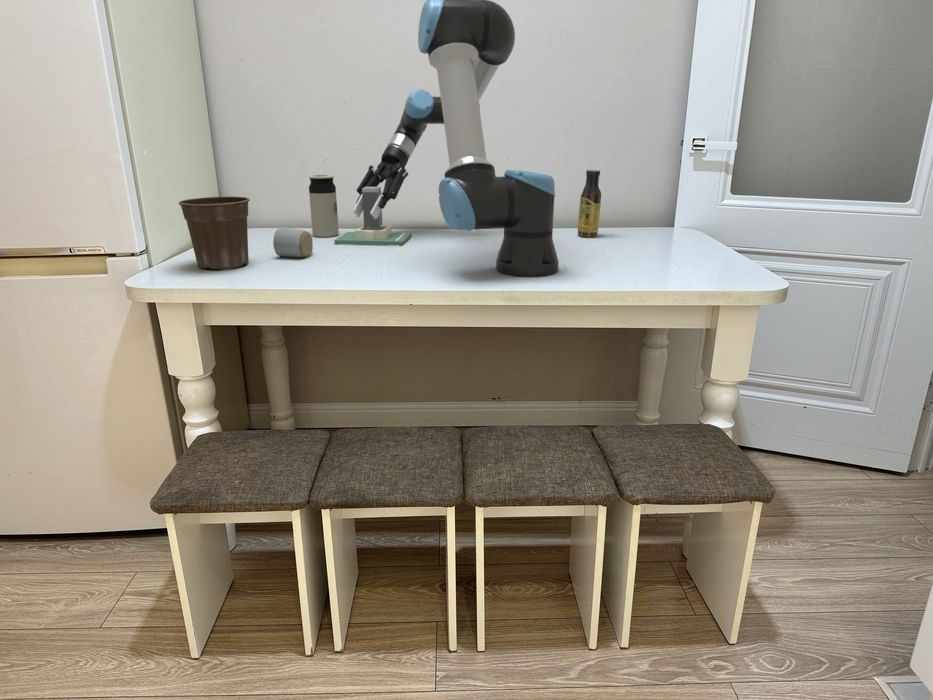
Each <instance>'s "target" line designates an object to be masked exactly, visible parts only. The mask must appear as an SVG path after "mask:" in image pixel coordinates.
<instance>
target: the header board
mask: <svg viewBox="0 0 933 700" xmlns="http://www.w3.org/2000/svg"><path fill="white" fill-rule="evenodd" d="M411 238H412V232H393V230H392V225H381V226H380V227H364V224H363V225H361V226H359V227H358V228H357V229H355V231H347V232H344V234H341V235H340V236H339V237H337V238H335V239H334V241H333V242H334V245H339V244H355V245H354V246H387V245H399V246H398V247H403V246H404V245H405V244H406V243H407V242H408V241H409V240H410V239H411ZM356 244H357V245H356Z"/></svg>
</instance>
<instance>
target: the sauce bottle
mask: <svg viewBox="0 0 933 700" xmlns="http://www.w3.org/2000/svg"><path fill="white" fill-rule="evenodd" d="M585 175H586V178H585V179H586V180H585V185H584V187H583V189H582V190H583V191H582V193H581V195H580V199H579V210H578V221H577V222H578V223H577V235H578V236H579V237H582V236H585V237H584V238H594V237H593V236H596V237H597V236H598V232H599V224H600V214H601V213H600V212H601V204H602V203H601V200H602V192H601V189H600V187H599V180H600V176H601V170H600V169H590V168H589V169H586V172H585Z"/></svg>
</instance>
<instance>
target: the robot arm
mask: <svg viewBox="0 0 933 700" xmlns="http://www.w3.org/2000/svg"><path fill="white" fill-rule="evenodd" d="M514 26H515V25H514V23H513V21H512V18H511V16H510V15H509V13H508V12H507V10H505V8H504V7H502V6H501V5H500V4H498V3H497V2H495V1H493V0H425V1H424V3H423V5H422V8H421V13H420V17H419V23H418V32H417V33H418V34H417V35H418V36H417V38H418V39H417V41H418V43H417V44H418V50H419V52H420V53H421V54H424V55H427V56H428V62H429V65H430V66H431V67H433V68H434V69H435V70H436V72H437V73H436V74H437V80H438V87H439V95H440V96H432V95H431V94H432V93H430V92H429V91H427V90H424V89H423V88H422V89H421V88H418V89H414V90H413V91H411V92H410V93H409V95H408V97H407V98H406V100H405V103H404V109H403V111H402V115H401V118H400V121H399V124H398V126H397V127H396V130H395V132H394V133H393V135H392V137H391V138H390V139H389V142H388V143H387V146H386V147H385V149H384V151H383V153H382V155H381V161H380V163H378V164H377V166H373V165H372V164H371V165H370V166H368V170H367V172H366V174H365V176H364V177H363V179H362V180H361V182H360V183H359V185H358V186H357V188H356V192H357V193H358V195H359V196H358V198H357V200H356V202H355V203H356V204H355V205H354V207H353V209H352V213H353V214H354V215H355V217H357V218H360V216H361V214H363V198H362V188H364V187H379V185H380V184H381V183H383V182H384V181H385V182H384V187H383V191H381V195H379V197H378V199H377V201H376V203H375V205H374V207H373V209H372V210H371V212H370V214H371V215H372V216H373V217H374V219H377V218H378V216H379V214H380V212H381V210H382V211H383V210H384V209H385V207H386V206H387V204H388V202H389V201H390V200H391V199H392V200H394V201H395V199H396V198H397V197H398V195H399V192H400V189H401V188H402V186H403V183H404V181H405V179H406V178H407V177H408V176H409V172H408V170H406V166H407V164H408V162H409V159H410V158H411V156H412V154H413V152H414V150H415V148H416V147H417V145H418V143H419V141H420V139H421V137H422V135H423V134H424V132H425V131H426V129H427V127H428V125H442V124H443V126H444V131H445V139H446V147H447V148H446V149H447V155H448V162H449V167H448V168H447V169H446V171H444V178H442V179H441V180H440V182H439V185H438V194H439V195H438V202H439V207H440V212H441V215H442V217H443V219H444V221H445V223H446V224H447V225H448V227H450V228H451V229H453V230H457V231H465V230H466V231H469V232H471V231H474V230H487V229H490V230H491V229H503V239H502V242H501V245H500V248H499V251H498V254H497V257H496V259H495V260H496V261H495V269H496V271H497V272H499V273H502V274H505V275H510V276H517V277H539V276H540V277H542V276H550V275H553V274H556V273H558V271H559V258H558V253H557V251H556V247H555V243H554V239H553V232H554V215H555V214H554V213H555V212H554V211H555V197H556V191H555V189H556V187H555V180H554V178H553V176H551V175H549V174H545V173H539V172H533V171H525V170H518V169H506V170H505V171H504V174H503V176H496V169H495V166H494V164H492V163H491V162H489V160H487V152H486V147H485V146H486V145H485V139H484V133H483V125H482V124H483V123H482V118H481V106H480V100H481V98H482V97H483V94H484V93H485V91H486V89H487V88H488V86H489V84H490V82H491V80H493V77H494V75H495V74H496V73H497V70H498V69H499V66H501V65H503V64H505V62H507V61H508V59H509V57H510V56H511V54H512V51H513V49H514V46H515V41H516V32H515V27H514Z"/></svg>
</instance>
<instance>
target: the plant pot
mask: <svg viewBox="0 0 933 700" xmlns="http://www.w3.org/2000/svg"><path fill="white" fill-rule="evenodd" d="M250 200H251V199H250V198H249V197H245V196H206V197H197V198H189V199H188V198H187V199H183V200H180V201H178V205H179V206H180V208H181V210H182V214H183V217H184V220H185V221H186V225H187V228H188V231H189V232H188V233H189V237H190V241H191V244H192V248H193V251H194V256H195V260H196V265H197V267H198V268H199V269H201V268H203V269H202V270H208V269H211V270H213V269H219V270H223V269H225V270H233V269H235V268H236V269H237V268H241V267H243V265H244V266H247V265H248V264H249V239H248V238H249V236H248V216H249V202H250ZM207 268H208V269H207ZM232 268H233V269H232Z"/></svg>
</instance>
